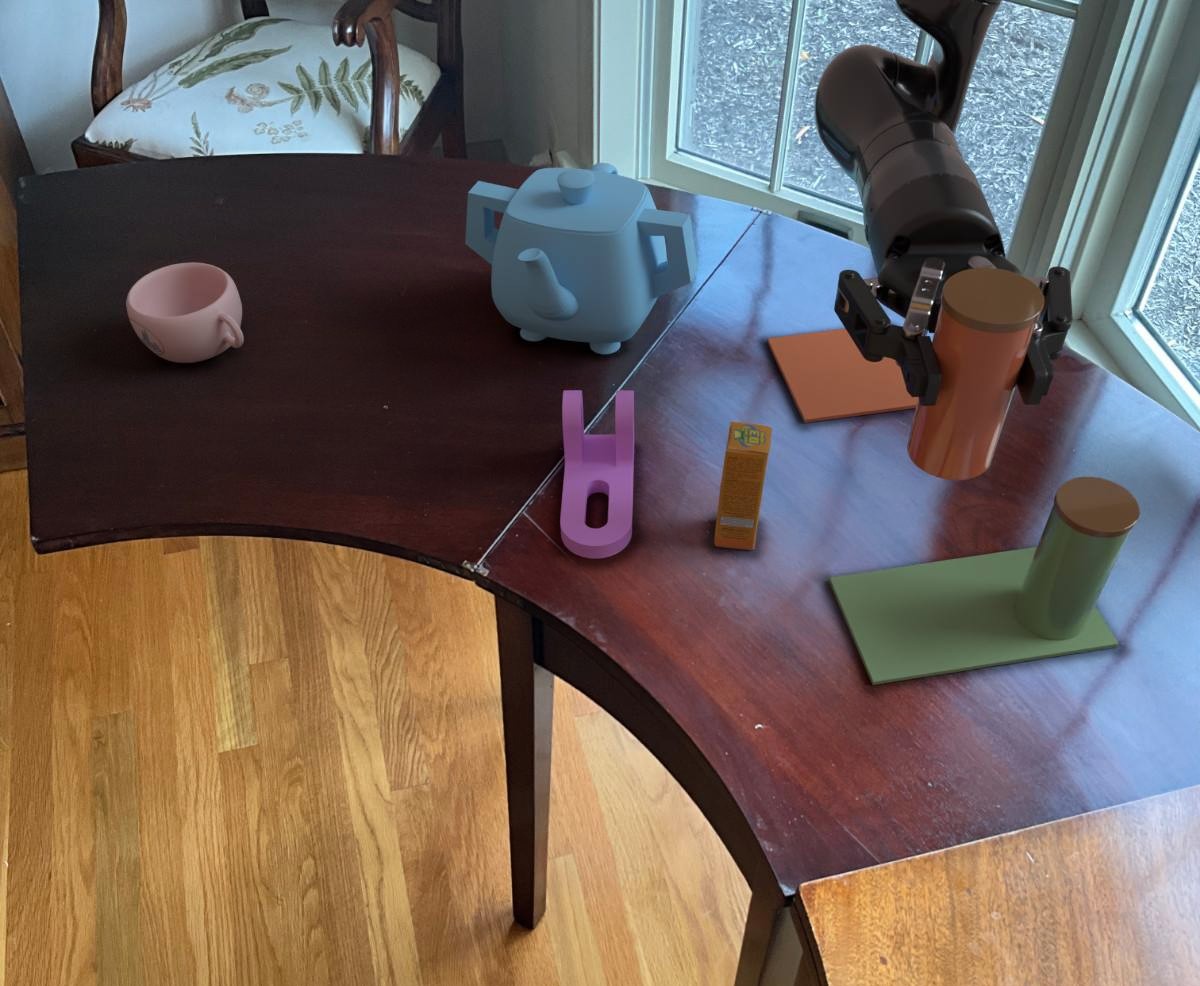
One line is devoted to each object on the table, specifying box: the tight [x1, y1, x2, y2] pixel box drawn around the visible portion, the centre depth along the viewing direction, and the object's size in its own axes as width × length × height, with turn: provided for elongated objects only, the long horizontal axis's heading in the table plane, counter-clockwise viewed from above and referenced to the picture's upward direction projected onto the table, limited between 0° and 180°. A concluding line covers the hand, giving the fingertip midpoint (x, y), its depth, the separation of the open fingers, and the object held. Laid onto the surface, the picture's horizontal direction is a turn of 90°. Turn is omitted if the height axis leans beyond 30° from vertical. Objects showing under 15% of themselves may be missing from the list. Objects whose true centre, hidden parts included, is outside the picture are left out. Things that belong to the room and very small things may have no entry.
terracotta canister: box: [906, 268, 1044, 481], centre depth 63 cm, size 5×5×11 cm
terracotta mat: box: [766, 322, 919, 424], centre depth 100 cm, size 12×12×1 cm
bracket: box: [559, 389, 635, 559], centre depth 87 cm, size 13×6×7 cm, turn 178°
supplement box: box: [713, 421, 773, 551], centre depth 83 cm, size 3×3×10 cm
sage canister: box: [1015, 476, 1141, 640], centre depth 76 cm, size 5×5×11 cm
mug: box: [125, 262, 245, 364], centre depth 103 cm, size 12×10×6 cm
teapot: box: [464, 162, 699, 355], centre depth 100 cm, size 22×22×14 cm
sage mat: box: [828, 546, 1119, 686], centre depth 81 cm, size 18×10×1 cm, turn 100°
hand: (984, 392), depth 60 cm, fingers closed on terracotta canister, 5 cm apart
